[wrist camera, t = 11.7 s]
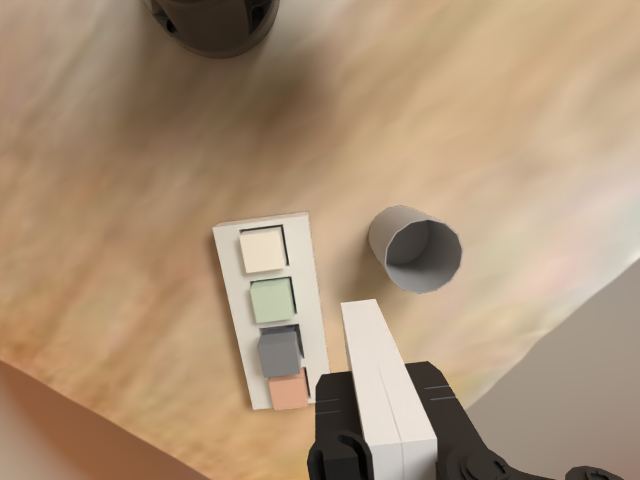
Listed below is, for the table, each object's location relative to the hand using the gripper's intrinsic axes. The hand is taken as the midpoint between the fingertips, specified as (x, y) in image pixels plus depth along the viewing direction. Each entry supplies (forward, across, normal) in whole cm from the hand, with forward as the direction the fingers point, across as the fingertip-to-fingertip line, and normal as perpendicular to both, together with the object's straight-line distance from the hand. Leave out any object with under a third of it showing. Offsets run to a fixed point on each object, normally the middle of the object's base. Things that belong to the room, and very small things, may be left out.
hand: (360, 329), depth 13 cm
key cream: (+27, -9, -3) cm, 29 cm away
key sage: (+27, -9, -10) cm, 30 cm away
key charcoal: (+25, -9, -16) cm, 31 cm away
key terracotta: (+27, -9, -24) cm, 37 cm away
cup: (+29, +9, -4) cm, 30 cm away
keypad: (+28, -9, -13) cm, 32 cm away
